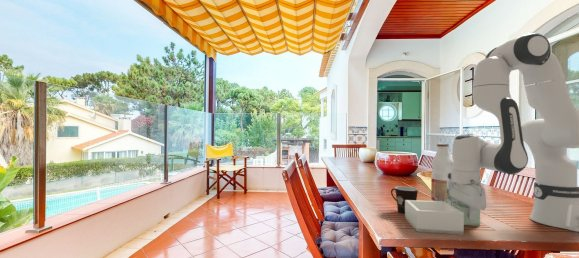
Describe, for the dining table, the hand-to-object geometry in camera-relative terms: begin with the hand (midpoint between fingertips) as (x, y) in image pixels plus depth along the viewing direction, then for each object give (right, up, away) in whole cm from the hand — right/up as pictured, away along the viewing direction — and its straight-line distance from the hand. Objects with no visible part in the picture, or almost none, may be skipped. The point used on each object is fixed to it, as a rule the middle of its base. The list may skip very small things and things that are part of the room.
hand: (465, 215), depth 100 cm
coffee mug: (-17, -3, +13) cm, 22 cm away
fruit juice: (+4, -3, +23) cm, 23 cm away
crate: (-15, -3, -4) cm, 15 cm away
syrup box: (+4, -3, +12) cm, 12 cm away
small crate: (0, -3, 0) cm, 3 cm away
